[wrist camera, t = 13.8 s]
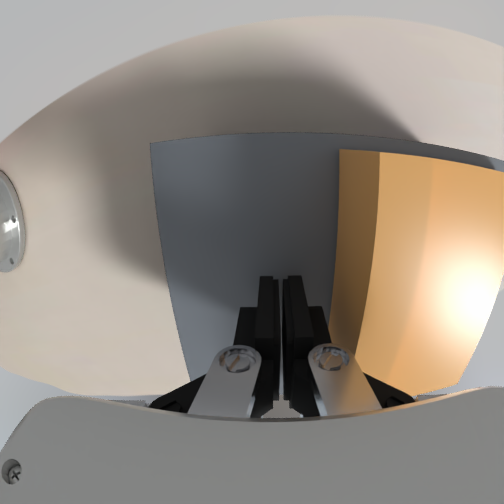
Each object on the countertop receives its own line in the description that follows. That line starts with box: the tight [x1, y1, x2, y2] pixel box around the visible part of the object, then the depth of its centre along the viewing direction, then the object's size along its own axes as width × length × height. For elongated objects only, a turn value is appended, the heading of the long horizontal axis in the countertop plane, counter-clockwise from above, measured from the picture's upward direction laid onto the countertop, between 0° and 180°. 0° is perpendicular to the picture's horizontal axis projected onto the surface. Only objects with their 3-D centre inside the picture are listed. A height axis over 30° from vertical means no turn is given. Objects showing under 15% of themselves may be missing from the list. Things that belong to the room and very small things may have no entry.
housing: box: [150, 132, 504, 394], centre depth 16 cm, size 18×14×10 cm
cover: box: [328, 149, 504, 396], centre depth 10 cm, size 9×12×4 cm
